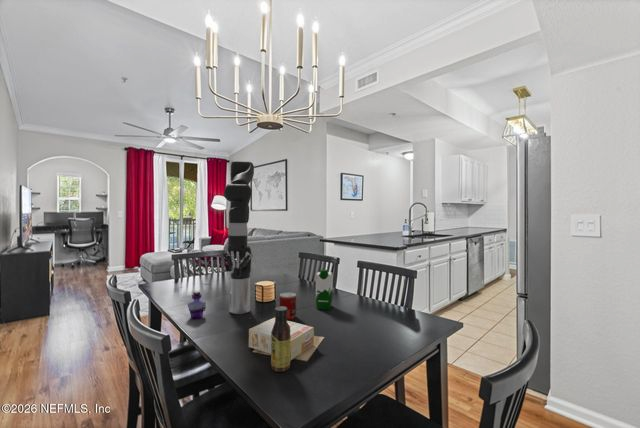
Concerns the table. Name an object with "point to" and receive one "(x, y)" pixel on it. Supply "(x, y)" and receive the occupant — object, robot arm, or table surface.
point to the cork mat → (307, 353)
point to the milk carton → (324, 289)
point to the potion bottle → (196, 306)
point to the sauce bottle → (280, 341)
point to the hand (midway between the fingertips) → (237, 276)
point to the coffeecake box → (299, 335)
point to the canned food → (289, 304)
